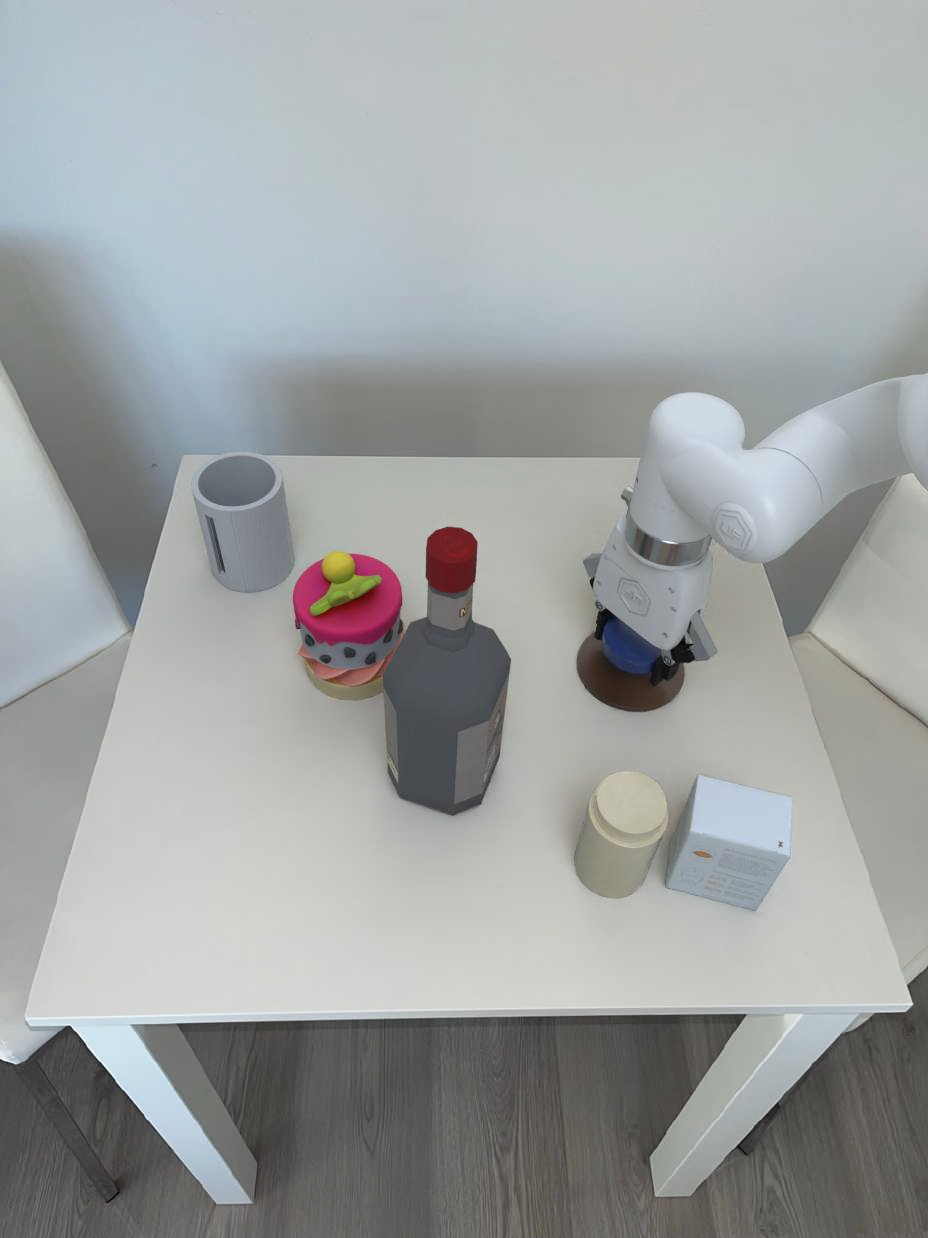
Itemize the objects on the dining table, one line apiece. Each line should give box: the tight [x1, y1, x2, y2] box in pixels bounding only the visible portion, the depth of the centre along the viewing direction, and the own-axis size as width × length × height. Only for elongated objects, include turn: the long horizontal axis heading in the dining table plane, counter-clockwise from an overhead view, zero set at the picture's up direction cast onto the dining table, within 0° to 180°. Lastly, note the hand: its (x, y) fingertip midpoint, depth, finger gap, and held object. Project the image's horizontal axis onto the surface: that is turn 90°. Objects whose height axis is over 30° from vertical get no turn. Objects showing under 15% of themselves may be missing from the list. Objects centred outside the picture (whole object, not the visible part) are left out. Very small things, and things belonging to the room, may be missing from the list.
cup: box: [190, 450, 296, 593], centre depth 100 cm, size 9×9×12 cm
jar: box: [573, 770, 669, 899], centre depth 78 cm, size 6×6×11 cm
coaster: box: [576, 631, 686, 713], centre depth 96 cm, size 11×11×1 cm
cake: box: [292, 550, 405, 701], centre depth 90 cm, size 10×11×15 cm
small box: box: [664, 774, 794, 911], centre depth 78 cm, size 8×6×10 cm
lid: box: [601, 615, 662, 674], centre depth 93 cm, size 7×7×2 cm
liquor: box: [383, 526, 512, 816], centre depth 76 cm, size 9×9×30 cm
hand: (633, 653), depth 95 cm, fingers closed on lid, 6 cm apart
